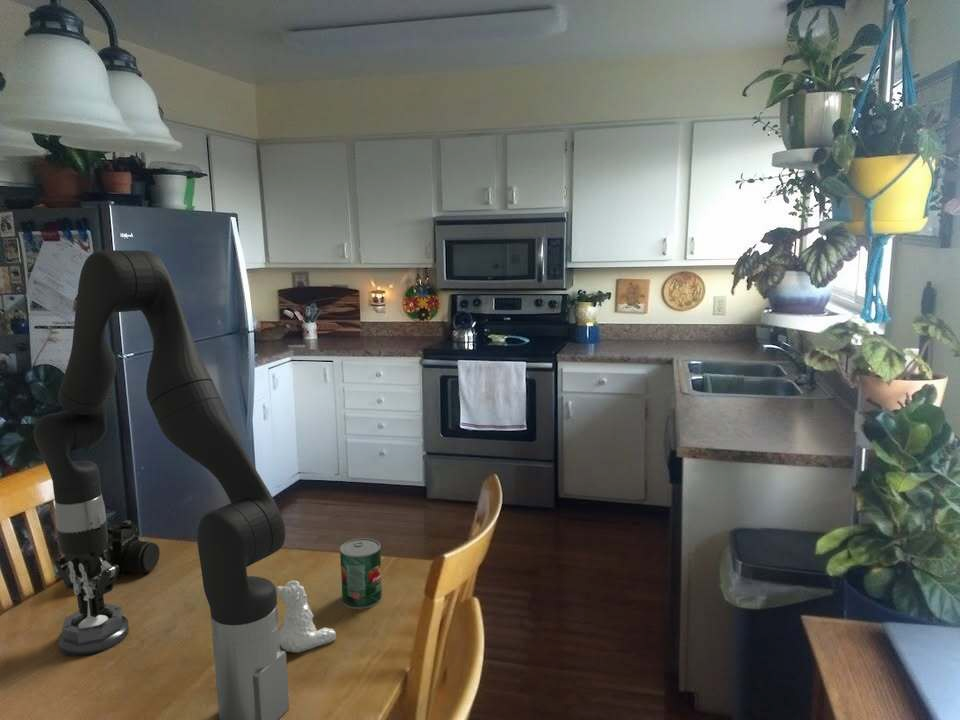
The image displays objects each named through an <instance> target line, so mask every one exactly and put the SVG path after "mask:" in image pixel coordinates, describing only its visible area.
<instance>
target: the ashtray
mask: <svg viewBox="0 0 960 720" xmlns="http://www.w3.org/2000/svg"><path fill="white" fill-rule="evenodd" d="M104 607H105V609H104V612H103V613H102V614H100V615H105V616H107V617H108V618H109V619H108V620H107V621H105V622H103V623H102V624H100V625H97V626H92V627H87V628H82V629H81V628H78V625H79V623H80V622H81V621H83V620H84V619H86V618H87V615H88V613H86V614H81V613H80V612H79V610H77V611H75V612H73V613H72V614H70V615H68V616H66V617H65V618H64V621H63V625H62V628H61V632H60V634H59V636H58V637H57V642H58V650H59V651H60V653H61V654H63V655H66V656H69V657H85V656H91V655H95V654H99V653H102V652H104V651H108V650H109V649H111V648H114V647H115V646H117V645H118V644H120V643H121V642H123V641H124V639H125V638H126V637H127V636H128V634H129V632H130V627H129V621H128V618H127V617H126V616H124V615H123V612H122V607H121V606H118V605H114V604H111V603H104Z"/></svg>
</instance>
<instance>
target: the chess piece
mask: <svg viewBox="0 0 960 720" xmlns="http://www.w3.org/2000/svg"><path fill="white" fill-rule="evenodd" d="M95 585H96V584H95ZM95 585H94V588H95ZM83 589H84V590H85V592H86V594H87V595H86V596H85V597H84V600H85V601H88V615H87V618H86V619H84V620H83V621H81V622H80V623H79V625H78V628H81V629H82V628H87V627H92V626H97V625H100V624H102V623H103V622H105V621H107V620H108V619H109V618H108V617H107V616H105V615H98V616H96V617H92V616H91V615H90V607H89V599H88V598H90V597H89V595H88V590H87V586H84V585H83ZM95 589H96V588H95Z"/></svg>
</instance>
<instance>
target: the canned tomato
mask: <svg viewBox="0 0 960 720" xmlns="http://www.w3.org/2000/svg"><path fill="white" fill-rule="evenodd" d="M339 552H340V553H339V556H340V575H341V576H340V577H341V596H342V597H341V598H342V599H341V601H342V604H343V605H344V606H345V607H346V608H347V607H348V608H350V609H354V610H364V609H369V608H372V607H374V606H377V605H378V604H379V603H380V602H381V601H382V600H383V591H382V590H383V588H382V587H383V586H382V584H383V582H382V563H381V562H382V559H381V558H382V556H381V555H382V554H381V553H382V552H381V543H380V542H379V541H378V540H375V539H373V538H366V537H365V538H364V537H361V538H359V537H358V538H354V539H350V540H348V541H344V543H342V544H341V545H340V547H339Z"/></svg>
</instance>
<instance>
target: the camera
mask: <svg viewBox="0 0 960 720" xmlns="http://www.w3.org/2000/svg"><path fill="white" fill-rule="evenodd" d="M107 532H108V543H107V544H106V546H105V548H104V552H105V554H106V556H107V562H108V563H109V564H110V565H111V566H114V565H115V564H117V565H118V566H119V572H118V575H117V577H119V576H125V575H128V574H130V573H149V572H151V571H153V570H154V569H155V567H156V566H157V565H158V562H159V560H160V554H161V553H160V547H159V545H158V544H157V543H155V542H152V541H143V540H140V537H139V530H138V525H137V524H135V522H134V521H133V520H130V519H126V520H124V521H123V522H121V523H120V524H119V526H118V525H114V524H113V525H111V524H110V525H109V526H107ZM95 589H97V584H96V585H95Z"/></svg>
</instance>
